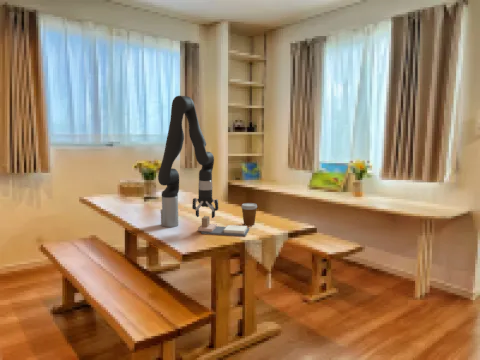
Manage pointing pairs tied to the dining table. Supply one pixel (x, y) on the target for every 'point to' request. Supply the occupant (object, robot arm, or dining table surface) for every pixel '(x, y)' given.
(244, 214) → the disposable coffee cup
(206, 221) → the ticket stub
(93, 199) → the dining table surface
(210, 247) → the dining table surface
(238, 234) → the ticket base
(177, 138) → the robot arm
